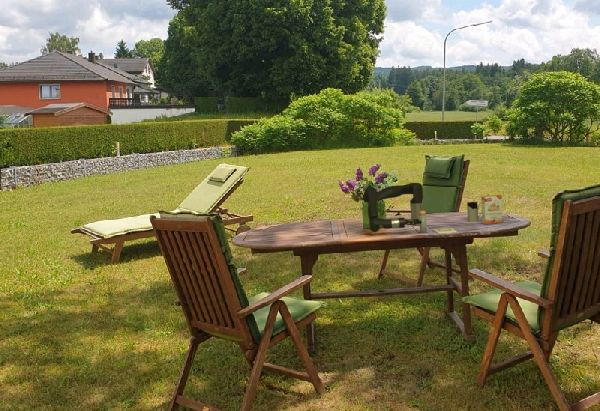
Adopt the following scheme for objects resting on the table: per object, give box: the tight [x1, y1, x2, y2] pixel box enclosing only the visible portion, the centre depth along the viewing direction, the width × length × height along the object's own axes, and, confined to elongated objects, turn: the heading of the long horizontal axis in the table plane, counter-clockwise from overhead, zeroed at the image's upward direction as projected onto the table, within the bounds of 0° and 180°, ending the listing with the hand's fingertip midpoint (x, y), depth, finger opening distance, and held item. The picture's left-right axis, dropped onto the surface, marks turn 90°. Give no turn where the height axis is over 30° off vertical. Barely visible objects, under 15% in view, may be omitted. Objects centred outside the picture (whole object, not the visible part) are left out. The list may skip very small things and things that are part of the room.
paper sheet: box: [432, 227, 457, 234], centre depth 424 cm, size 16×13×1 cm
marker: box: [419, 209, 428, 234], centre depth 423 cm, size 5×5×16 cm
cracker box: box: [480, 194, 503, 225], centre depth 443 cm, size 14×6×21 cm, turn 101°
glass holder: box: [466, 201, 482, 223], centre depth 460 cm, size 9×14×15 cm, turn 104°
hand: (420, 221), depth 423 cm, fingers open, 8 cm apart
